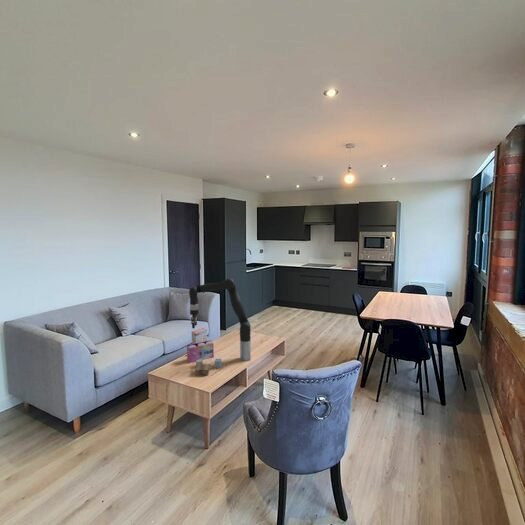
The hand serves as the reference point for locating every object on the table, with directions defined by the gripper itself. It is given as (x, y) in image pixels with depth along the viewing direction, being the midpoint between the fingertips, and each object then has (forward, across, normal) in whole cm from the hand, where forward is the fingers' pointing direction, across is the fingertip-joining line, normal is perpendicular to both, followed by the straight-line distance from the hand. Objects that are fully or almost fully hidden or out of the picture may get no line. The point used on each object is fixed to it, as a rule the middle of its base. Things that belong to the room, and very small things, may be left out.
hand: (194, 326), depth 283 cm
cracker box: (+30, +16, -1) cm, 34 cm away
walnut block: (+30, -28, -12) cm, 42 cm away
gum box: (+30, 0, -5) cm, 30 cm away
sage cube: (+29, -16, -7) cm, 34 cm away
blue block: (+29, -17, -23) cm, 41 cm away
